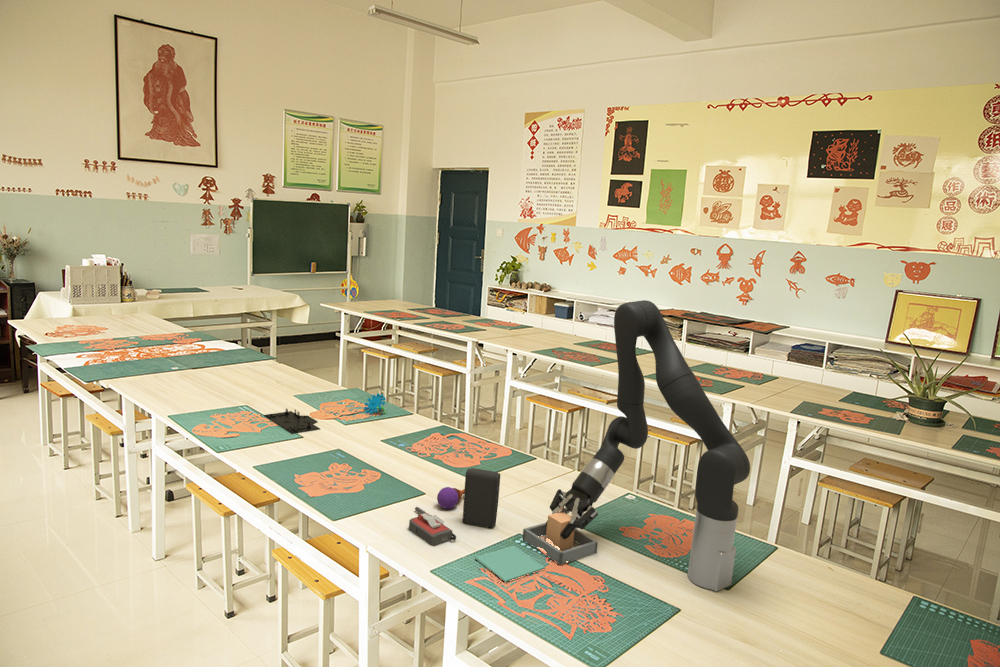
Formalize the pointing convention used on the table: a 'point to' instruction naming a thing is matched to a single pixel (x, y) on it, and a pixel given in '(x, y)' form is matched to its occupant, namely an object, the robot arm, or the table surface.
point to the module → (559, 530)
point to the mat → (509, 563)
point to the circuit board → (293, 421)
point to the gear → (375, 404)
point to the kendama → (449, 497)
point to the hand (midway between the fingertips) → (555, 532)
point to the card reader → (481, 497)
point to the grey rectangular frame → (531, 536)
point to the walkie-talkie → (430, 528)
